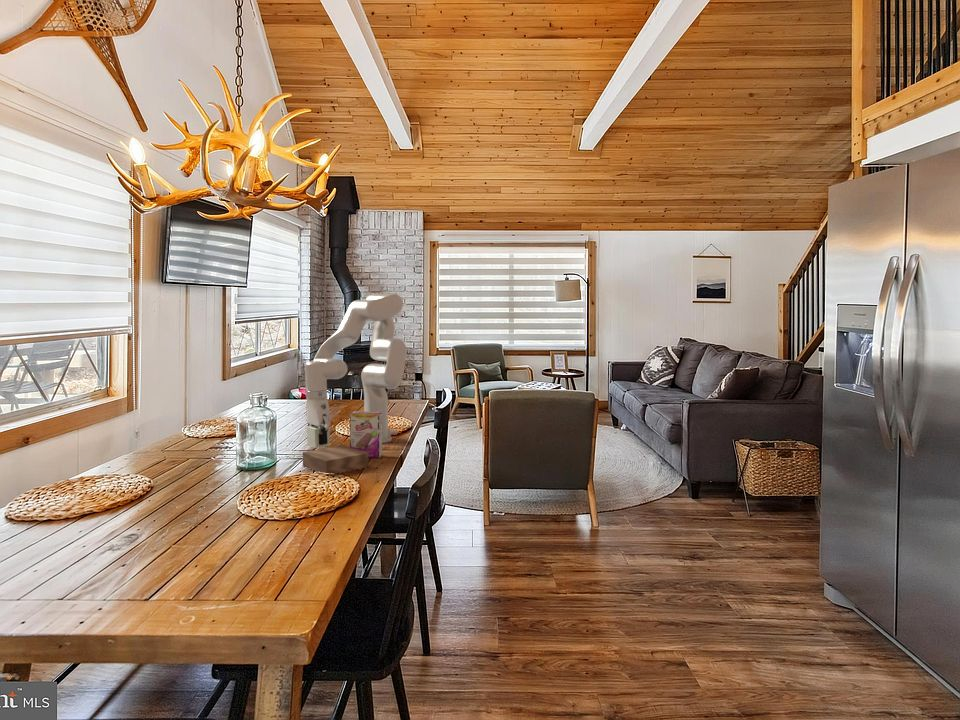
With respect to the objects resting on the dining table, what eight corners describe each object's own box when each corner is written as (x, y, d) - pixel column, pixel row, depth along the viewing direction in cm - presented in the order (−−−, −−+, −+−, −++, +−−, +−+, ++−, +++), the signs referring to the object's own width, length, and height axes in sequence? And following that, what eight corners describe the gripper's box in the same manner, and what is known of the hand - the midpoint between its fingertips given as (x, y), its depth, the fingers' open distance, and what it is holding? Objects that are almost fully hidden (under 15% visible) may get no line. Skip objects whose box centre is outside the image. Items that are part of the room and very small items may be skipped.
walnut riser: (343, 459, 227) (343, 445, 227) (368, 467, 216) (368, 453, 215) (302, 466, 216) (302, 452, 216) (326, 476, 205) (326, 460, 204)
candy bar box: (349, 457, 230) (348, 413, 228) (353, 454, 235) (352, 410, 233) (379, 458, 229) (379, 413, 227) (383, 455, 234) (382, 411, 232)
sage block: (322, 442, 238) (321, 424, 237) (330, 445, 233) (329, 426, 233) (307, 445, 234) (306, 426, 233) (315, 448, 229) (314, 429, 229)
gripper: (337, 396, 228) (339, 444, 230) (314, 390, 240) (316, 437, 242) (319, 398, 223) (321, 448, 225) (296, 393, 235) (298, 440, 237)
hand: (318, 442), depth 234 cm, fingers closed on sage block, 6 cm apart
